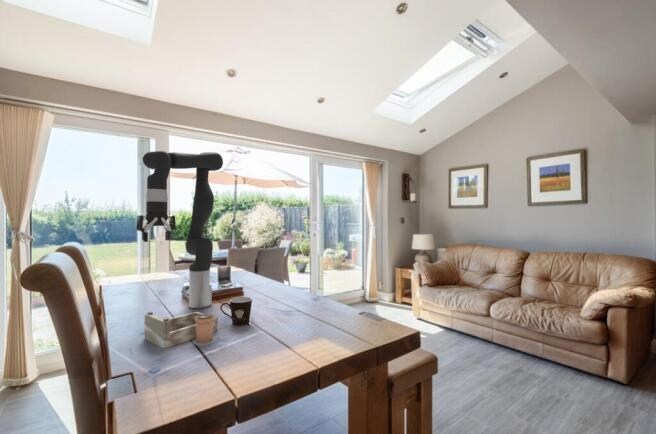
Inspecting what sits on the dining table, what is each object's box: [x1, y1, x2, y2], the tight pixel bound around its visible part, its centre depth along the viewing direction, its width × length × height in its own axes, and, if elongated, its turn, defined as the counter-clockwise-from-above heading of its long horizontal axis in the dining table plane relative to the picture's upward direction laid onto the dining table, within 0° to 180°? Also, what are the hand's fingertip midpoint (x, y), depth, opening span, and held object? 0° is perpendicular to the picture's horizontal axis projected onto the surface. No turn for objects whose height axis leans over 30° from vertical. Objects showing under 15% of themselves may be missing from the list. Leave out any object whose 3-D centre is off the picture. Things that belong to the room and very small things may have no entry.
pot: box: [195, 313, 215, 343], centre depth 107 cm, size 6×6×8 cm
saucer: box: [192, 334, 220, 346], centre depth 107 cm, size 8×8×1 cm
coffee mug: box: [220, 296, 253, 327], centre depth 125 cm, size 12×9×10 cm
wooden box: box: [144, 311, 219, 349], centre depth 112 cm, size 20×14×10 cm
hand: (156, 241), depth 125 cm, fingers open, 8 cm apart
